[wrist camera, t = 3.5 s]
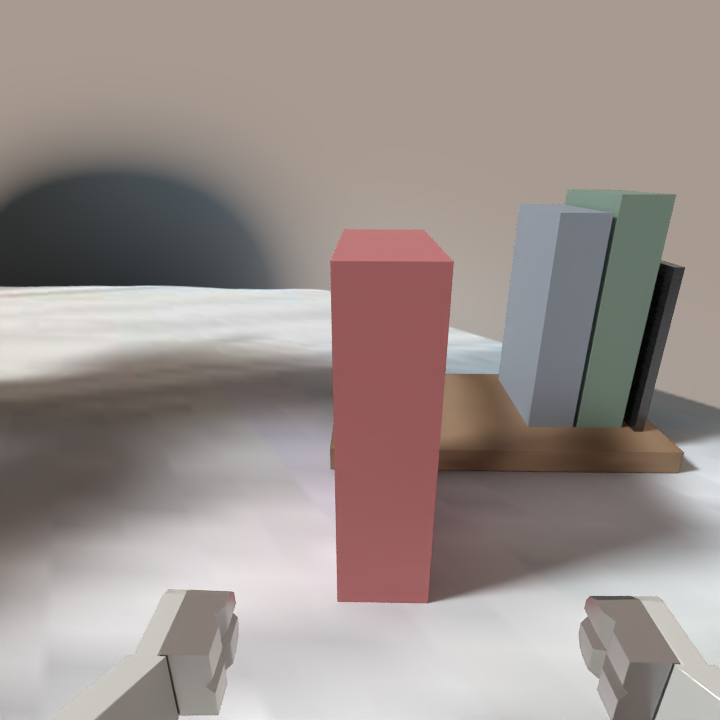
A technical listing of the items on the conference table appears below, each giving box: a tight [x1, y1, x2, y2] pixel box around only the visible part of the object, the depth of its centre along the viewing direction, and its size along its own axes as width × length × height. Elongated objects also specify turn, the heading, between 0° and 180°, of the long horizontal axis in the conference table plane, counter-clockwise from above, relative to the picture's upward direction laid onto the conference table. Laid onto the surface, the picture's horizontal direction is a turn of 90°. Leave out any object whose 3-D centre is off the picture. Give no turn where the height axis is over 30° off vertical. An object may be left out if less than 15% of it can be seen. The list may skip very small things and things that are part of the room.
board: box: [330, 374, 684, 473], centre depth 35 cm, size 22×12×2 cm, turn 89°
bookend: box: [623, 260, 685, 432], centre depth 34 cm, size 1×9×11 cm, turn 0°
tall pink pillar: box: [330, 229, 454, 603], centre depth 22 cm, size 4×9×15 cm, turn 179°
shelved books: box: [498, 189, 676, 428], centre depth 33 cm, size 6×8×15 cm
